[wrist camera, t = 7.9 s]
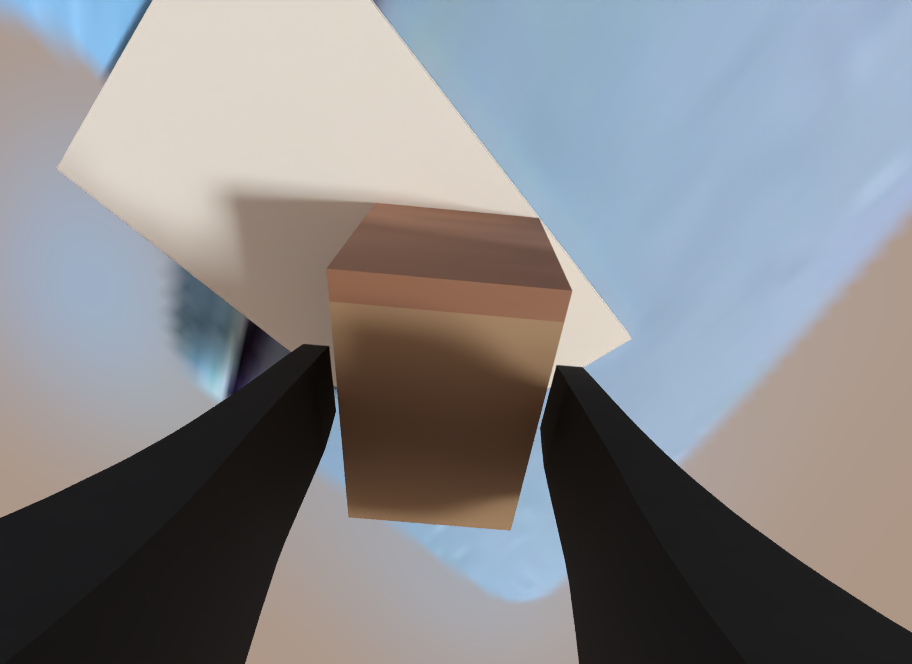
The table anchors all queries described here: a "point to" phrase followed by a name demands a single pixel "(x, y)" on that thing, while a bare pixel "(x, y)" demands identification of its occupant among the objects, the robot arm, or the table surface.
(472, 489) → the walnut block
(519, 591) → the table surface
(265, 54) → the beige board
